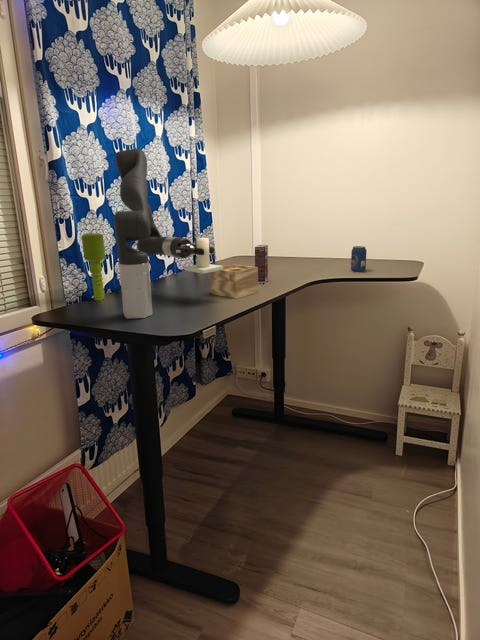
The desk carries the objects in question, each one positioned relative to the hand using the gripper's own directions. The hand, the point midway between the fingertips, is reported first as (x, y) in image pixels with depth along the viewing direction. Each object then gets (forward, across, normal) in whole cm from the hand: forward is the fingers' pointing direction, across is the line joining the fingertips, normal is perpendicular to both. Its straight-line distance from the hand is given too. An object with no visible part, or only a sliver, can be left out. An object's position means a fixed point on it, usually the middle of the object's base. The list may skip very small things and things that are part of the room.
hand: (208, 251), depth 159 cm
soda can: (+14, +86, +20) cm, 90 cm away
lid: (-3, 0, +7) cm, 8 cm away
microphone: (-37, -23, +19) cm, 48 cm away
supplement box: (-8, +40, +19) cm, 45 cm away
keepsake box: (-2, +16, +19) cm, 24 cm away
